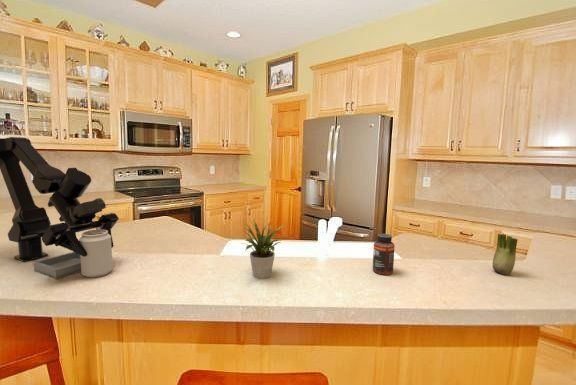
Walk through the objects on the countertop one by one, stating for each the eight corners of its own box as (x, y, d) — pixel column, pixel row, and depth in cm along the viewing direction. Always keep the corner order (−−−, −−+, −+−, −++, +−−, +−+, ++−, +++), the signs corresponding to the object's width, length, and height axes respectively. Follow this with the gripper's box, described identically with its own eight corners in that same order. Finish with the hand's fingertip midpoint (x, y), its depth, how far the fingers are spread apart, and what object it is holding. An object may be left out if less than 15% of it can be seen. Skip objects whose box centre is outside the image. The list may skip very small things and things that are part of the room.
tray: (34, 270, 86) (33, 262, 86) (78, 258, 96) (77, 250, 96) (56, 279, 81) (55, 270, 81) (100, 265, 91) (99, 257, 91)
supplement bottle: (394, 270, 93) (396, 234, 91) (391, 277, 87) (394, 239, 86) (373, 266, 95) (376, 231, 94) (370, 273, 90) (372, 236, 88)
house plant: (222, 279, 83) (222, 221, 81) (246, 262, 96) (246, 212, 94) (270, 289, 78) (271, 227, 76) (288, 269, 91) (290, 216, 89)
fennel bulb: (515, 277, 89) (520, 238, 88) (497, 275, 90) (501, 236, 89) (505, 270, 95) (510, 232, 93) (488, 268, 96) (492, 231, 94)
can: (98, 280, 81) (95, 236, 79) (74, 277, 83) (71, 234, 81) (119, 269, 88) (116, 229, 87) (97, 267, 90) (94, 227, 88)
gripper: (44, 194, 75) (78, 243, 73) (112, 186, 92) (141, 226, 90) (28, 221, 79) (59, 269, 77) (96, 209, 96) (123, 248, 94)
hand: (99, 251), depth 84 cm, fingers closed on can, 7 cm apart
